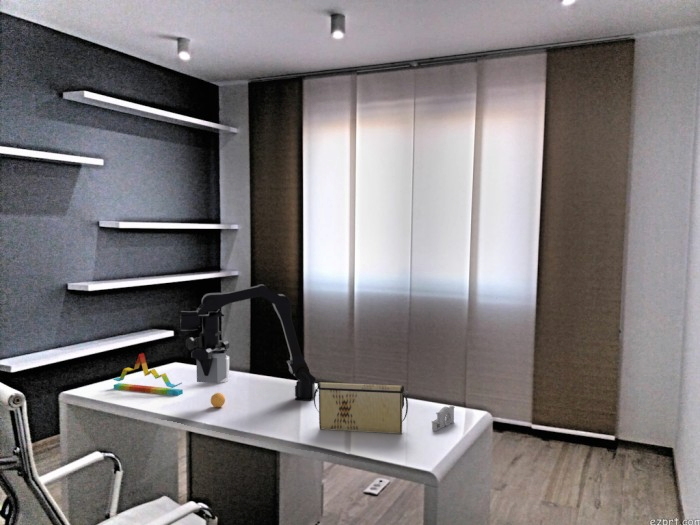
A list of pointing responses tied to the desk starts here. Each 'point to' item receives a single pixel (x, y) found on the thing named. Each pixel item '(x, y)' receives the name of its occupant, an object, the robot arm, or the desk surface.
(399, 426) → the clutch purse
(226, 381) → the white cup
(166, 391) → the chart
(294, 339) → the robot arm
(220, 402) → the ball
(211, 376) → the matte grey cube
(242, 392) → the desk surface
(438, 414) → the garden wall model
